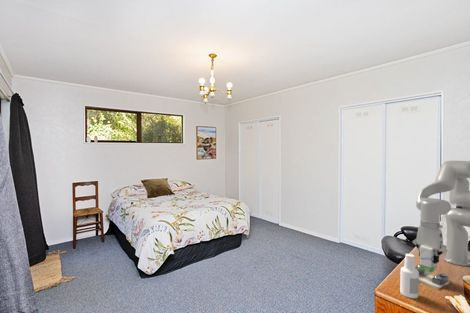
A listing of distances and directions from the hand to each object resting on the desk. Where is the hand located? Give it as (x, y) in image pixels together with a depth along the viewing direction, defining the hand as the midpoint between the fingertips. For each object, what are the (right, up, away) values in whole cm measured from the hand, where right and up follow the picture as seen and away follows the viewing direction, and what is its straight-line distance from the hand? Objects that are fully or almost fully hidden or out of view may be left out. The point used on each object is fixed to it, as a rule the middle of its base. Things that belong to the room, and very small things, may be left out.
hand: (428, 260), depth 127 cm
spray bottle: (-19, -10, -13) cm, 26 cm away
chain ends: (0, -10, 0) cm, 10 cm away
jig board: (0, -10, 0) cm, 10 cm away
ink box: (0, -5, 0) cm, 5 cm away
